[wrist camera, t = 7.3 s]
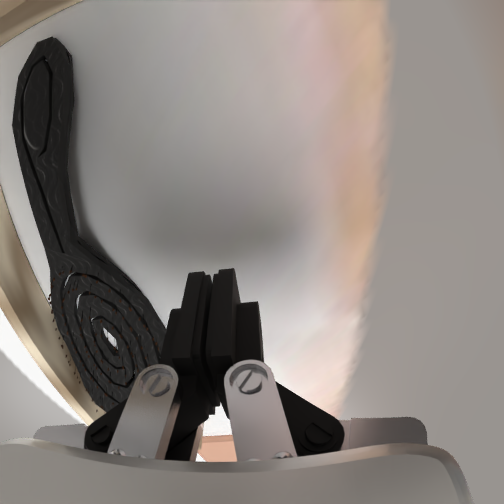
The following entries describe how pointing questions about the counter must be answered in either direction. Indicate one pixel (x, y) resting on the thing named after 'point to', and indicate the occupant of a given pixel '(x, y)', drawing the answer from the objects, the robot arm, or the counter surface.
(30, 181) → the hairbrush
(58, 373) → the u-shaped wooden frame
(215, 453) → the terracotta tile
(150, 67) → the counter surface
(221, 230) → the counter surface
